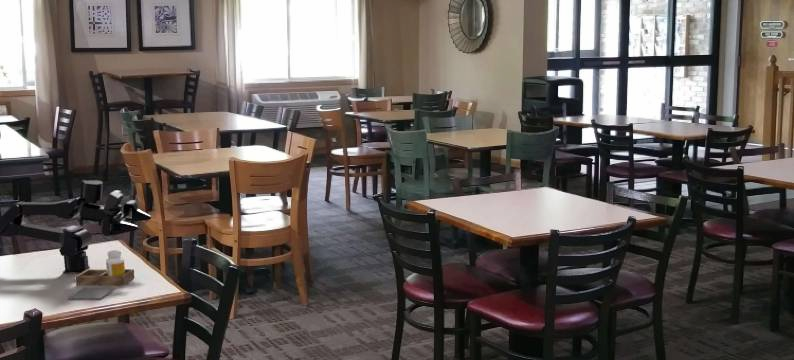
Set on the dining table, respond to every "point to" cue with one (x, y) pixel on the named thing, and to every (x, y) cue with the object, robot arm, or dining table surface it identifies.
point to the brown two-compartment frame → (103, 277)
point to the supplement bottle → (115, 264)
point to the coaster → (92, 293)
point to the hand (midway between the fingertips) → (144, 222)
